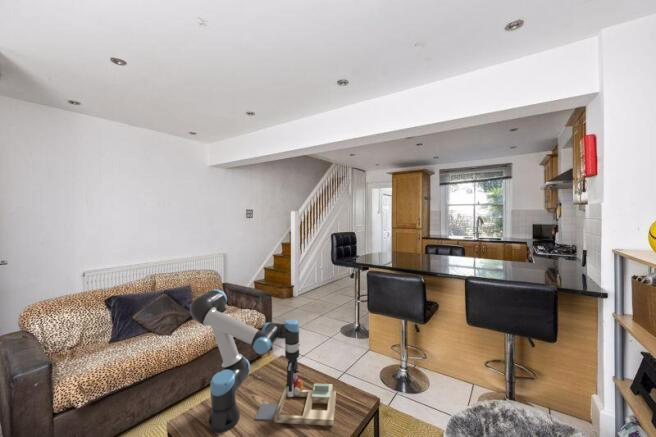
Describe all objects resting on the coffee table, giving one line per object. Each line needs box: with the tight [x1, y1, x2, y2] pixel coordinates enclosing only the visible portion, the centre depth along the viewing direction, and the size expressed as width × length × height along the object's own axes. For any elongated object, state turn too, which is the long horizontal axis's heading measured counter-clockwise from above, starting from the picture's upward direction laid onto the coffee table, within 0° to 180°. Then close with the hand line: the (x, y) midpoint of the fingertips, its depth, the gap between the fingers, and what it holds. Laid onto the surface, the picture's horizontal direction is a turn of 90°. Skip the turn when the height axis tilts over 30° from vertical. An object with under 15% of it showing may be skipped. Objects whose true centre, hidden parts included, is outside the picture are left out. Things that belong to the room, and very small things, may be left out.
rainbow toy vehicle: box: [284, 377, 304, 395], centre depth 148 cm, size 8×10×7 cm
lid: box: [312, 383, 332, 398], centre depth 156 cm, size 10×11×4 cm
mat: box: [254, 402, 279, 422], centre depth 146 cm, size 11×11×1 cm
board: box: [273, 383, 337, 427], centre depth 151 cm, size 30×27×3 cm
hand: (292, 390), depth 148 cm, fingers closed on rainbow toy vehicle, 8 cm apart
